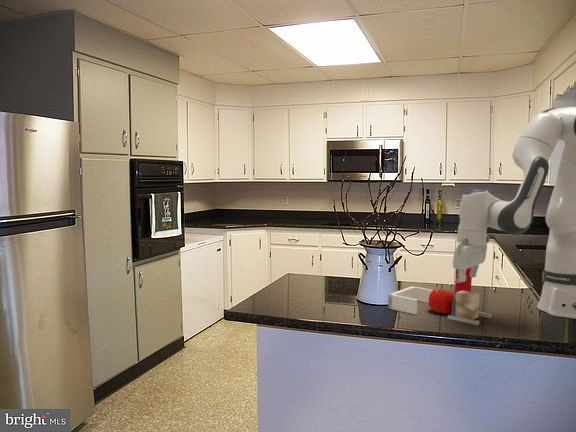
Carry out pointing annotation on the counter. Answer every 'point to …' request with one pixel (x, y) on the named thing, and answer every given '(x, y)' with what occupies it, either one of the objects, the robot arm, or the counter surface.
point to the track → (469, 319)
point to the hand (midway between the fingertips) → (467, 279)
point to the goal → (408, 299)
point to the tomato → (441, 301)
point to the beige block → (466, 305)
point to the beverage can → (463, 285)
